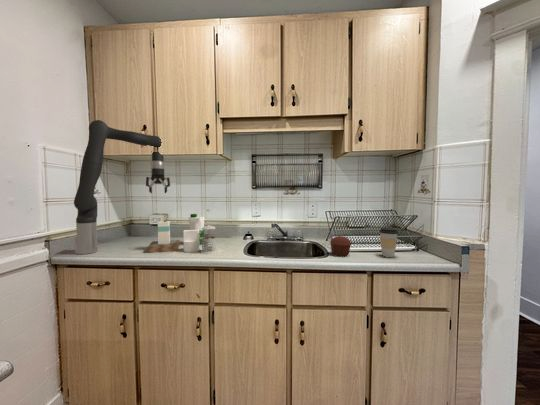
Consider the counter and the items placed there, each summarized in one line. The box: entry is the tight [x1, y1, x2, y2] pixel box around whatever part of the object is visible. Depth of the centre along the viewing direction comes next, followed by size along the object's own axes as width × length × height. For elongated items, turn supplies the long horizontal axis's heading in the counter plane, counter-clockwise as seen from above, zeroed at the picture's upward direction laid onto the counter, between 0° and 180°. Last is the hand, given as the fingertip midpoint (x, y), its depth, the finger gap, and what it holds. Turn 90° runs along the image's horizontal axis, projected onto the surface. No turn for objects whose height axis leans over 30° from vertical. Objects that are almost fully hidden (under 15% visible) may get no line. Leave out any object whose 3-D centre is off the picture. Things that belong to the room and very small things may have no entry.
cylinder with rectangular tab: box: [182, 229, 200, 253], centre depth 143 cm, size 9×9×12 cm
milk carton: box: [188, 213, 205, 246], centre depth 160 cm, size 9×9×20 cm
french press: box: [198, 208, 218, 255], centre depth 140 cm, size 10×12×25 cm
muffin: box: [329, 235, 353, 257], centre depth 134 cm, size 12×11×10 cm
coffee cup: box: [378, 227, 399, 258], centre depth 131 cm, size 9×9×15 cm
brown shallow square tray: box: [146, 239, 180, 254], centre depth 146 cm, size 16×16×4 cm
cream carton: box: [157, 219, 171, 244], centre depth 146 cm, size 6×6×14 cm
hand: (158, 193), depth 158 cm, fingers open, 8 cm apart
